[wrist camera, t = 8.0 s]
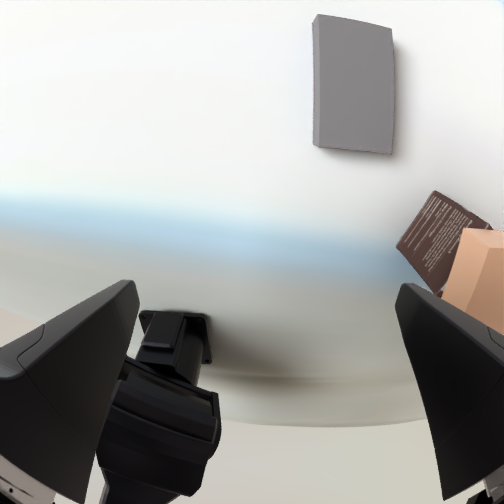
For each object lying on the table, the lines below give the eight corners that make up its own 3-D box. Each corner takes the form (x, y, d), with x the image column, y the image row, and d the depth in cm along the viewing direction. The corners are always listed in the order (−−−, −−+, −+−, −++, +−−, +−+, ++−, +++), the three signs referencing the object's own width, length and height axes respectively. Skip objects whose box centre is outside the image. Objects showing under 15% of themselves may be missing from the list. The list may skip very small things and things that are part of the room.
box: (467, 225, 20) (516, 264, 13) (431, 275, 22) (470, 324, 16) (432, 187, 18) (490, 221, 12) (392, 245, 21) (435, 297, 14)
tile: (491, 313, 15) (506, 332, 13) (430, 324, 15) (445, 349, 13) (522, 232, 12) (543, 248, 10) (463, 227, 12) (489, 247, 10)
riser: (379, 150, 17) (391, 154, 16) (312, 143, 18) (318, 147, 16) (380, 35, 13) (391, 28, 12) (312, 23, 13) (317, 14, 12)
